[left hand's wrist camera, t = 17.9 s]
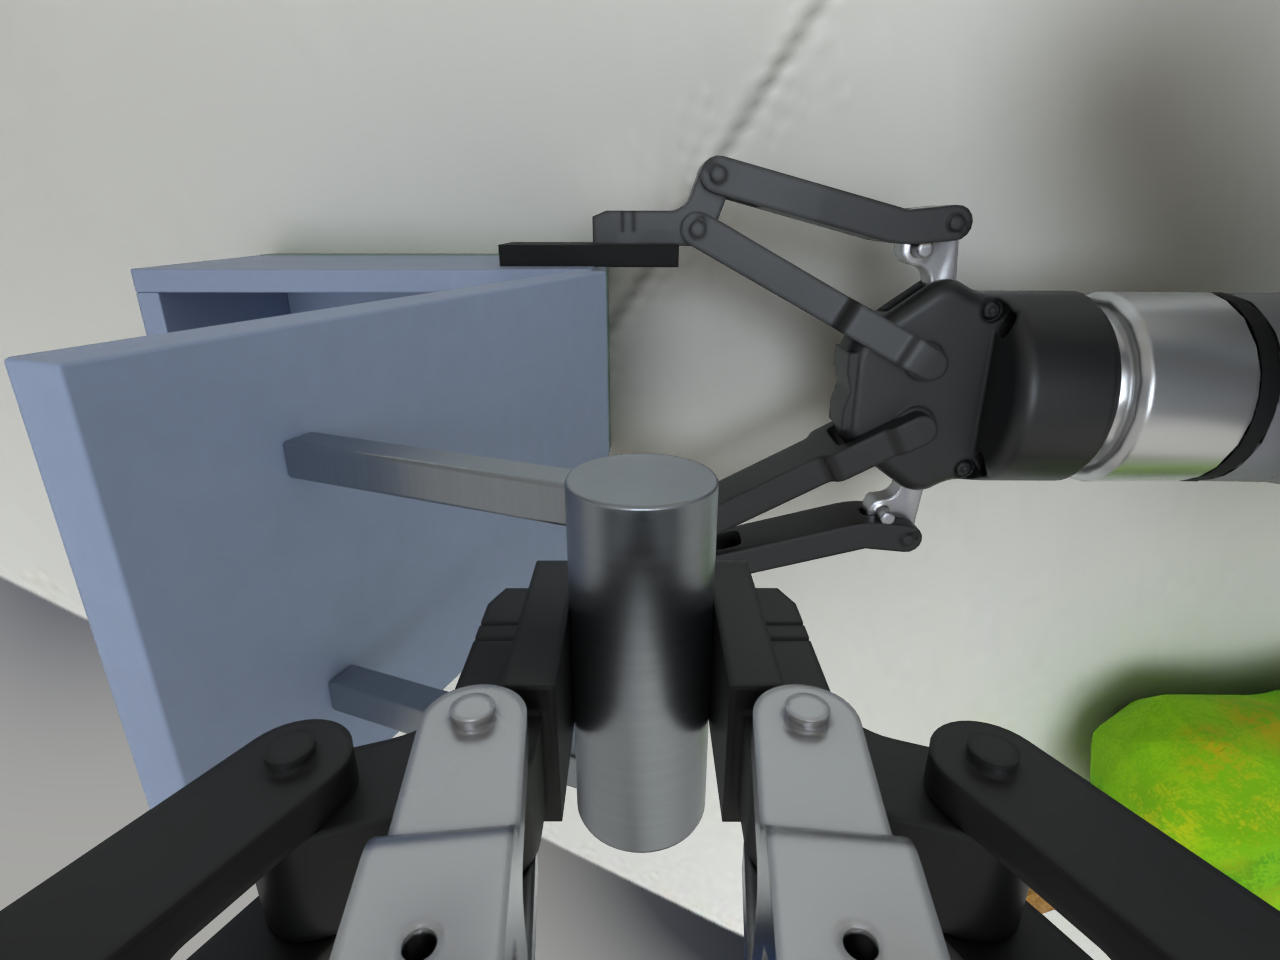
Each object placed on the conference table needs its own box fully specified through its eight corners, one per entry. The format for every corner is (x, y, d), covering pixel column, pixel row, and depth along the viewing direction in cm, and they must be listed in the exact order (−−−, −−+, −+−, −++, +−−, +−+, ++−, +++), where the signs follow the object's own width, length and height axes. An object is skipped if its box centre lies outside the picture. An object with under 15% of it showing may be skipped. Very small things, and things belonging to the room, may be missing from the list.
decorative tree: (894, 926, 35) (1584, 679, 28) (845, 771, 45) (1350, 560, 38) (1024, 1120, 40) (1635, 949, 33) (954, 942, 50) (1416, 782, 43)
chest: (305, 443, 37) (192, 520, 27) (271, 253, 33) (129, 268, 24) (610, 444, 36) (598, 522, 27) (607, 254, 33) (592, 268, 24)
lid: (171, 883, 13) (623, 1103, 9) (-1, 356, 9) (615, 430, 6) (583, 526, 27) (816, 567, 24) (575, 270, 24) (845, 278, 20)
